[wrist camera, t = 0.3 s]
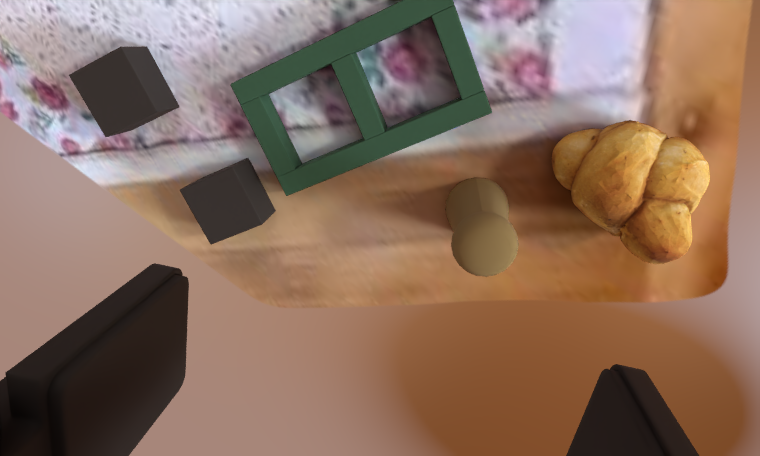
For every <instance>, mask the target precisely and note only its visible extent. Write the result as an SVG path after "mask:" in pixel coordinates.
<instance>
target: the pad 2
mask: <svg viewBox="0 0 760 456" xmlns="http://www.w3.org/2000/svg"><path fill="white" fill-rule="evenodd" d="M180 191H181V193H182V195H183V197H184V198H185V200H186V202H187V204H188V205H189V207H190V209H191V211H192V213H193V214H194V216H195V218H196V220H197V221H198V223H199V225H200V227H201V228H202V230H203V232H204V234H205V235H206V237H207V239H208V241H209V242H210V244H214V243H216V242H219V241H221V240H224V239H226V238H229V237H231V236H234V235H236V234H239V233H242V232H244V231H247V230H249V229H252V228H254V227H257V226H259V225H262V224H263V223H264V222H265V221H266V220H267V219H268V218H269V217H270V216H271V215H272V214H273V213H274V212H275V209H274V207H273V205H272V203H271V201H270V199H269V197H268V195H267V193H266V191H265V189H264V187H263V185H262V183H261V181H260V179H259V177H258V176H257V174H256V172H255V170H254V168H253V166H252V164H251V162H250V160H249V158H246V159H244V160H242V161H239V162H237V163H235V164H233V165H230V166H228V167H226V168H223V169H221V170H219V171H217V172H214V173H212V174H210V175H207V176H205V177H203V178H201V179H199V180H197V181H195V182H193V183H191V184H189V185H188V186H186V187H184V188H182V189H180Z"/></svg>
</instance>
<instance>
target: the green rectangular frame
mask: <svg viewBox="0 0 760 456" xmlns="http://www.w3.org/2000/svg"><path fill="white" fill-rule="evenodd" d="M431 17H432V20H433V23H434V25H435V28H436V31H437V33H438V36H439V39H440V42H441V44H442V47H443V50H444V53H445V55H446V58H447V61H448V63H449V66H450V69H451V72H452V74H453V77H454V80H455V82H456V85H457V88H458V91H459V93H460V96H461V97H460V98H457V99H455V100H453V101H450V102H448V103H446V104H443V105H441V106H438V107H436V108H434V109H431V110H429V111H427V112H424V113H422V114H419V115H417V116H415V117H412V118H410V119H407V120H405V121H403V122H400V123H398V124H396V125H393V126H391V127H388V128H387V125H386V123H385V120H384V118H383V115H382V113H381V111H380V108H379V106H378V104H377V101H376V99H375V96H374V94H373V92H372V89H371V87H370V85H369V82H368V80H367V77H366V75H365V73H364V70H363V68H362V65H361V63H360V61H359V58H358V56H357V54H356V53H357V52H359V51H361V50H363V49H365V48H367V47H369V46H372V45H374V44H376V43H378V42H380V41H382V40H384V39H386V38H389V37H391V36H393V35H395V34H397V33H399V32H401V31H403V30H406V29H408V28H410V27H412V26H414V25H416V24H418V23H420V22H423V21H425V20H427V19H429V18H431ZM329 65H332V67H333V69H334V72H335V74H336V76H337V78H338V81H339V83H340V85H341V88H342V90H343V92H344V94H345V97H346V99H347V101H348V104H349V106H350V108H351V110H352V113H353V115H354V117H355V120H356V122H357V124H358V126H359V129H360V131H361V133H362V136H363V138H362V139H360V140H358V141H355V142H353V143H350V144H348V145H346V146H343V147H341V148H338V149H336V150H334V151H331V152H329V153H327V154H324V155H322V156H319V157H317V158H315V159H312V160H310V161H308V162H305V163H303V164H302V163H301V161H300V159H299V156H298V154H297V152H296V150H295V148H294V146H293V144H292V142H291V140H290V138H289V136H288V134H287V132H286V130H285V127H284V125H283V123H282V121H281V119H280V117H279V115H278V113H277V111H276V109H275V107H274V105H273V103H272V101H271V98H270V96H269V93H271V92H274V91H276V90H278V89H280V88H282V87H284V86H286V85H289V84H291V83H293V82H295V81H297V80H299V79H301V78H303V77H306V76H308V75H310V74H312V73H314V72H316V71H318V70H320V69H323V68H325V67H327V66H329ZM231 87H232V89H233V91H234V93H235V95H236V97H237V99H238V101H239V103H240V104H241V107H242V109H243V111H244V113H245V115H246V117H247V119H248V121H249V123H250V125H251V127H252V129H253V131H254V133H255V135H256V137H257V139H258V141H259V143H260V145H261V147H262V149H263V151H264V153H265V155H266V157H267V159H268V161H269V163H270V165H271V167H272V169H273V171H274V173H275V175H276V177H277V178H278V180H279V182H280V184H281V186H282V188H283V190H284V192H285V194H286V196H288V195H290V194H293V193H295V192H298V191H300V190H303V189H305V188H308V187H310V186H313V185H315V184H317V183H320V182H322V181H325V180H327V179H330V178H332V177H335V176H337V175H340V174H342V173H345V172H347V171H350V170H352V169H354V168H357V167H359V166H362V165H364V164H367V163H369V162H372V161H374V160H377V159H379V158H382V157H384V156H387V155H389V154H391V153H394V152H396V151H399V150H401V149H404V148H406V147H409V146H411V145H414V144H416V143H419V142H421V141H424V140H426V139H428V138H431V137H433V136H436V135H438V134H441V133H443V132H446V131H448V130H451V129H453V128H456V127H458V126H461V125H463V124H465V123H468V122H470V121H473V120H475V119H478V118H480V117H483V116H485V115H488V114H490V113H492V111H491V108H490V105H489V102H488V99H487V96H486V93H485V91H484V88H483V85H482V82H481V79H480V76H479V74H478V71H477V68H476V65H475V62H474V59H473V57H472V54H471V51H470V48H469V45H468V42H467V39H466V37H465V34H464V31H463V28H462V25H461V22H460V20H459V17H458V14H457V11H456V8H455V6H454V2H453V0H402V1H400V2H398V3H396V4H394V5H392V6H390V7H388V8H386V9H384V10H382V11H379V12H377V13H375V14H373V15H371V16H369V17H367V18H365V19H363V20H361V21H359V22H357V23H355V24H353V25H351V26H349V27H347V28H345V29H342V30H340V31H338V32H336V33H334V34H332V35H330V36H328V37H326V38H324V39H322V40H320V41H318V42H316V43H314V44H312V45H310V46H308V47H305V48H303V49H301V50H299V51H297V52H295V53H293V54H291V55H289V56H287V57H285V58H283V59H281V60H279V61H277V62H275V63H273V64H271V65H268V66H266V67H264V68H262V69H260V70H258V71H256V72H254V73H252V74H250V75H248V76H246V77H244V78H242V79H240V80H238V81H236V82H234V83H232V84H231Z"/></svg>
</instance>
